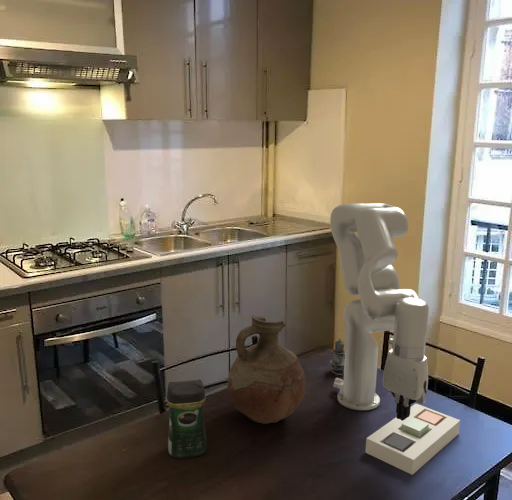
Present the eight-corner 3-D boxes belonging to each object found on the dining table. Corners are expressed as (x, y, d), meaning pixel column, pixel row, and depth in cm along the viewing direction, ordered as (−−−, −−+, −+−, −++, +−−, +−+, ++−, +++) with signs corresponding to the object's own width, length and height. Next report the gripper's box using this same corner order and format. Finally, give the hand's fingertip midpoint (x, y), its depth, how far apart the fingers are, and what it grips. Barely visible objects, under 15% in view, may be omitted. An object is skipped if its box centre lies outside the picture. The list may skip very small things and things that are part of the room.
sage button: (401, 432, 143) (401, 423, 143) (410, 425, 147) (411, 416, 146) (418, 440, 140) (419, 431, 140) (428, 432, 144) (428, 423, 143)
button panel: (365, 452, 140) (366, 438, 139) (414, 416, 158) (415, 403, 157) (412, 474, 131) (413, 459, 130) (458, 433, 149) (460, 420, 148)
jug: (320, 422, 154) (324, 319, 147) (258, 447, 141) (260, 337, 134) (271, 392, 170) (273, 299, 164) (212, 412, 158) (212, 313, 151)
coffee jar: (204, 439, 144) (203, 373, 140) (208, 457, 137) (207, 388, 133) (166, 443, 142) (165, 376, 138) (168, 461, 135) (167, 391, 131)
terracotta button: (416, 425, 150) (417, 417, 149) (425, 418, 153) (426, 410, 153) (433, 432, 146) (434, 423, 146) (442, 425, 150) (443, 417, 149)
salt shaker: (346, 376, 182) (348, 342, 179) (328, 374, 183) (330, 340, 180) (347, 369, 188) (349, 336, 185) (330, 367, 189) (331, 334, 186)
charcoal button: (383, 450, 138) (384, 441, 137) (393, 442, 141) (394, 433, 141) (401, 459, 134) (402, 449, 134) (411, 450, 138) (412, 441, 137)
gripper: (373, 344, 136) (368, 411, 140) (429, 363, 125) (422, 435, 130) (389, 336, 141) (384, 401, 145) (445, 354, 131) (437, 423, 135)
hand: (402, 417), depth 137 cm, fingers closed
